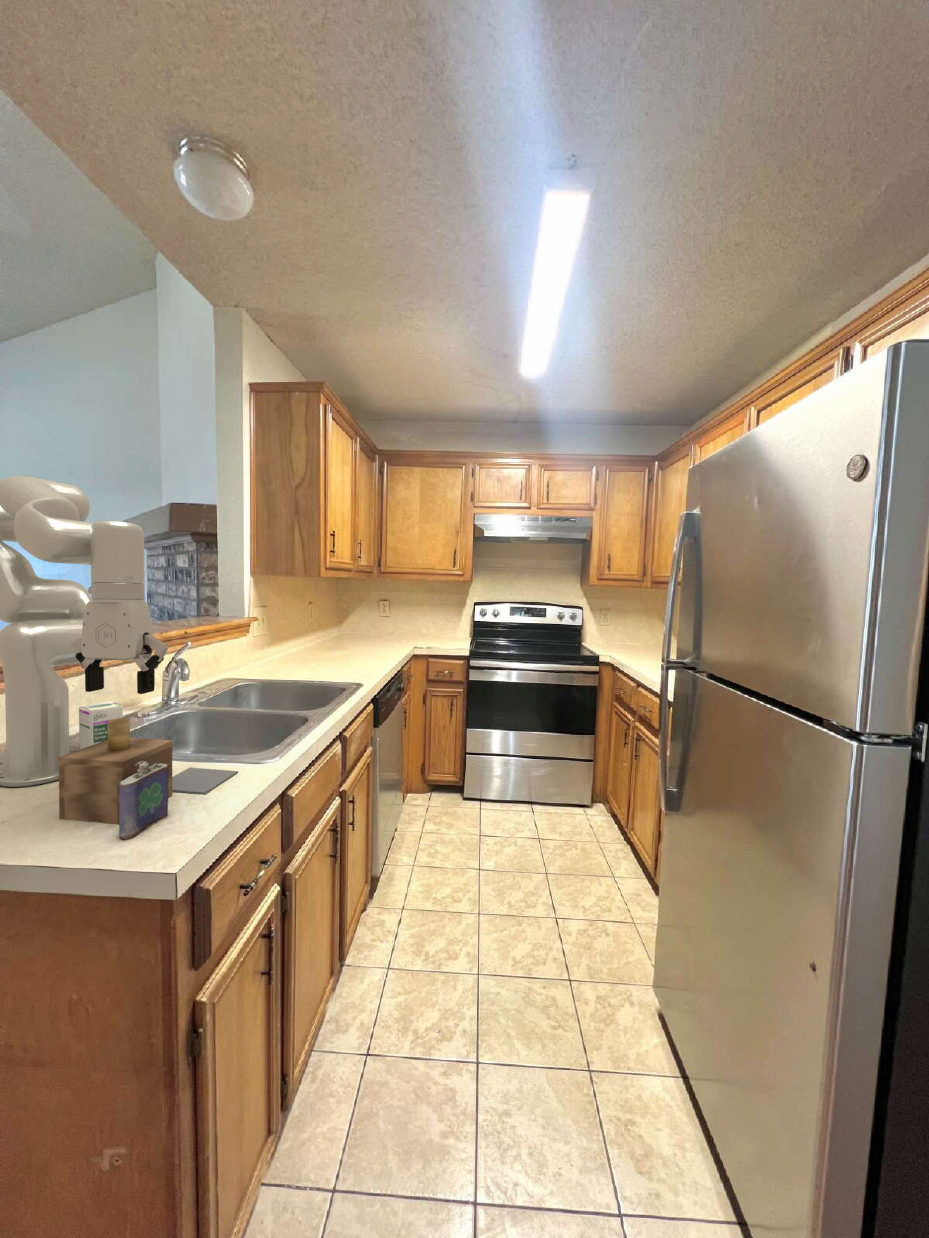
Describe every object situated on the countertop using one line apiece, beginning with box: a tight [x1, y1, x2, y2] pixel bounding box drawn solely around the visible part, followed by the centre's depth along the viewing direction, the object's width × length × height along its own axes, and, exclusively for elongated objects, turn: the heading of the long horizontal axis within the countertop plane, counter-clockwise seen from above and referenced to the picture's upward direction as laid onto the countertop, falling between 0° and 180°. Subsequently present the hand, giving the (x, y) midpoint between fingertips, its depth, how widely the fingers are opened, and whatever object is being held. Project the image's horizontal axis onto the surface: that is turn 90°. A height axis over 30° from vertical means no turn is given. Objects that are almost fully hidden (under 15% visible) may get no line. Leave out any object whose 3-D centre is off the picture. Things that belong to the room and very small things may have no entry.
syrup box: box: [78, 700, 124, 750], centre depth 98 cm, size 6×6×14 cm
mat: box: [172, 767, 239, 796], centre depth 97 cm, size 11×11×1 cm
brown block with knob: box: [58, 717, 173, 825], centre depth 84 cm, size 12×12×16 cm
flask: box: [118, 761, 169, 841], centre depth 78 cm, size 9×3×11 cm, turn 173°
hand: (120, 691), depth 83 cm, fingers open, 9 cm apart
